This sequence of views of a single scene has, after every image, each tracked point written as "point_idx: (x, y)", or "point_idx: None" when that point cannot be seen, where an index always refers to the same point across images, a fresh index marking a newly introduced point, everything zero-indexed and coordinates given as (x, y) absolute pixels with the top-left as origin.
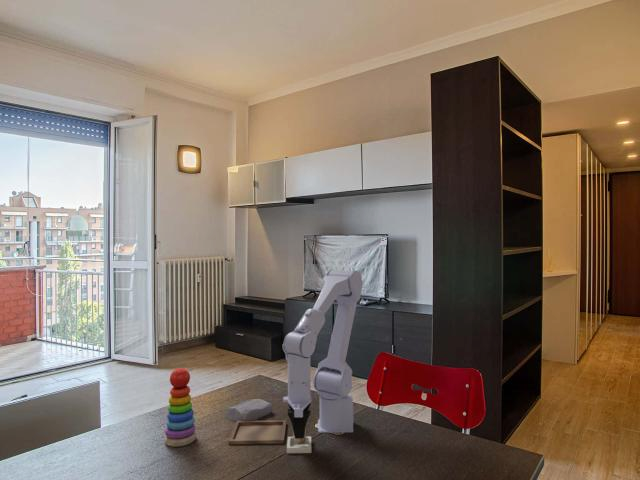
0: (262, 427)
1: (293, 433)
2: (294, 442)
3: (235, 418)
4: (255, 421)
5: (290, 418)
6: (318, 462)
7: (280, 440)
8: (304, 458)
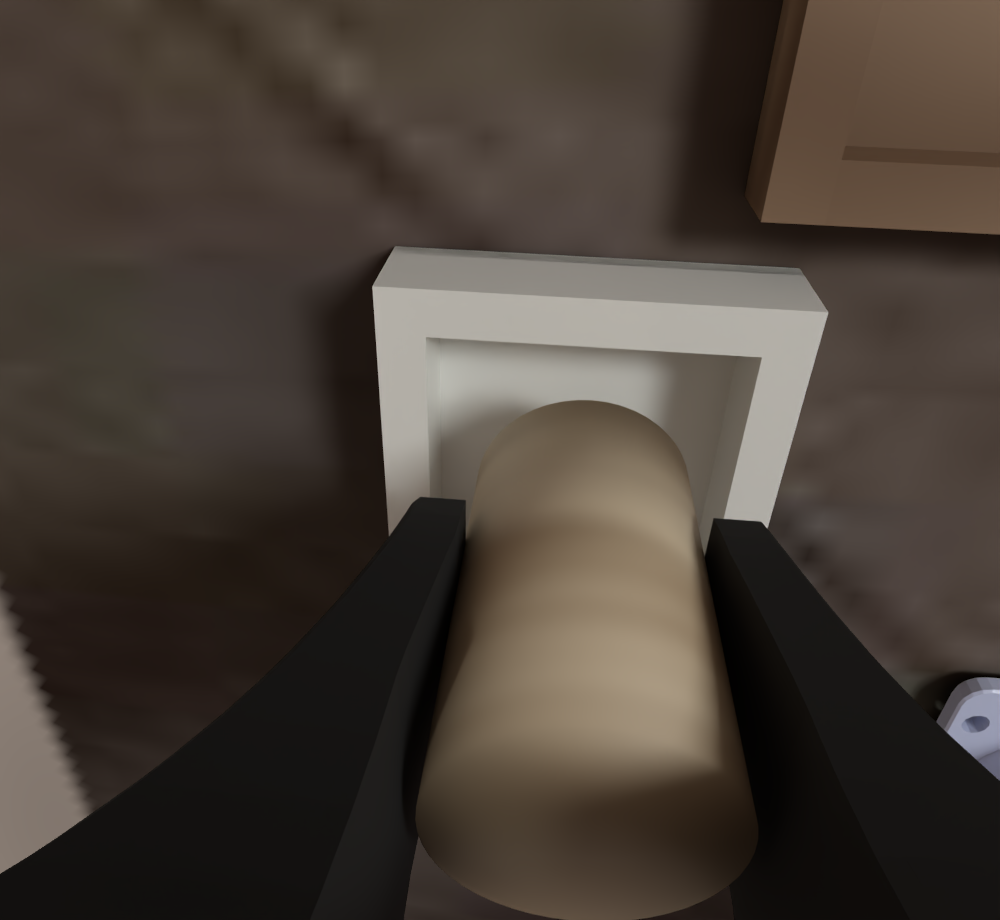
0: None
1: (540, 500)
2: (515, 425)
3: None
4: None
5: (29, 869)
6: (226, 594)
7: (775, 151)
8: (300, 471)
